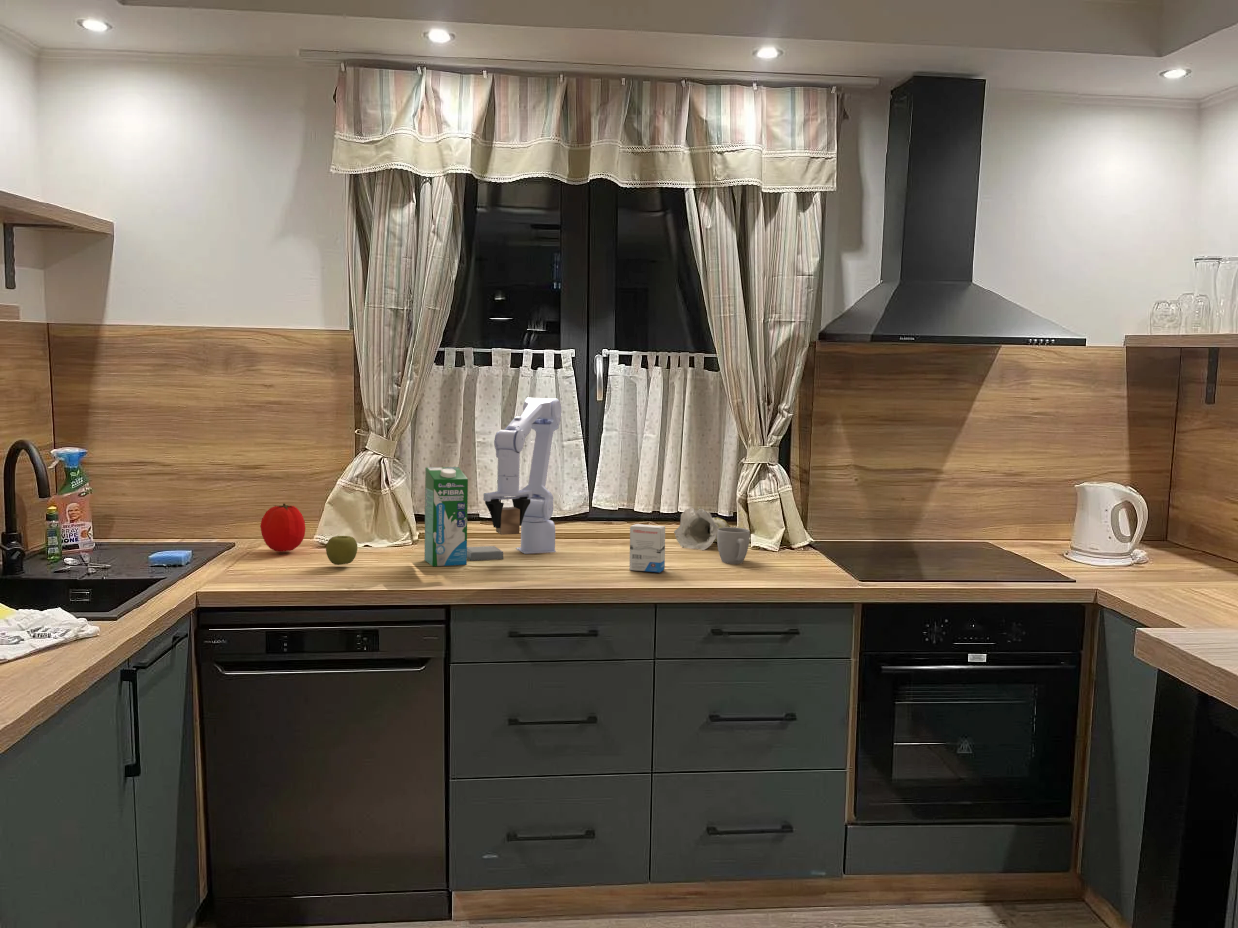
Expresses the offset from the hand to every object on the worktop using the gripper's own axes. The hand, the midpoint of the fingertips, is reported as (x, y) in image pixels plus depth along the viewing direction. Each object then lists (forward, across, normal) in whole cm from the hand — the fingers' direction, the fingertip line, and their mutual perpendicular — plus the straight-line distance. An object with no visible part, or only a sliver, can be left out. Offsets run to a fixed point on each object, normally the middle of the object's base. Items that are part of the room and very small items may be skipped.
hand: (507, 526), depth 246 cm
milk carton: (+10, +13, -10) cm, 19 cm away
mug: (+10, -48, +38) cm, 62 cm away
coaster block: (+10, 0, -11) cm, 15 cm away
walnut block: (+2, 0, 0) cm, 2 cm away
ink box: (+10, -24, +28) cm, 39 cm away
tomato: (+10, +40, -49) cm, 64 cm away
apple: (+10, +35, -24) cm, 43 cm away
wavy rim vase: (+12, -56, +19) cm, 61 cm away
